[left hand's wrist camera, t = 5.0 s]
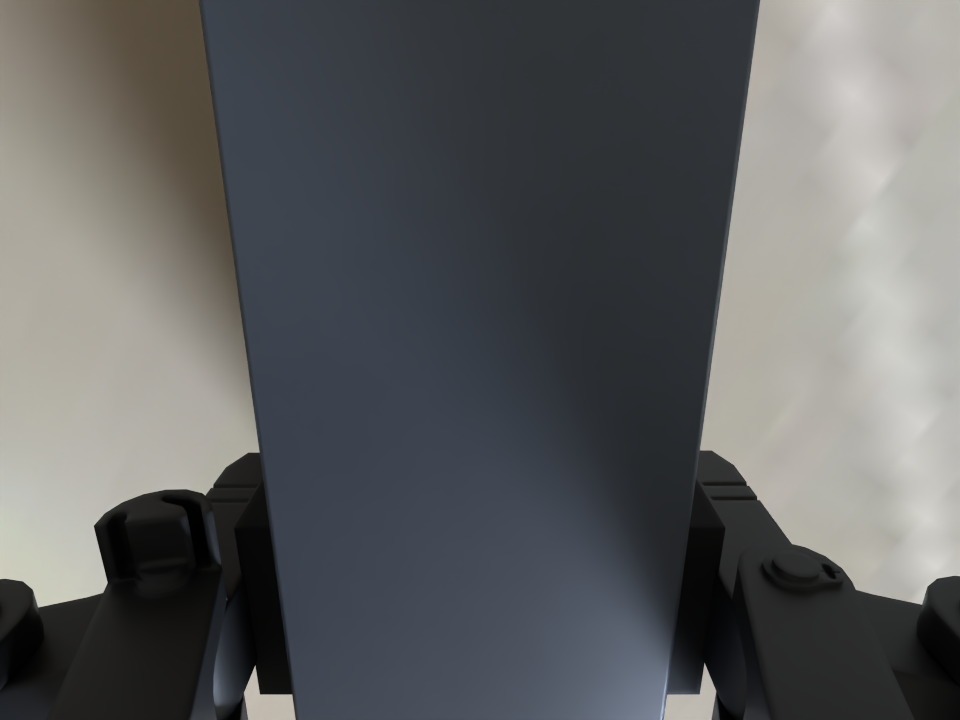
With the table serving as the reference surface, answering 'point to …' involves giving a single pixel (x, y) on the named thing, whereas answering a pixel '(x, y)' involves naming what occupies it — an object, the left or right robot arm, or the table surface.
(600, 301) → the post
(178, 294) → the table surface
